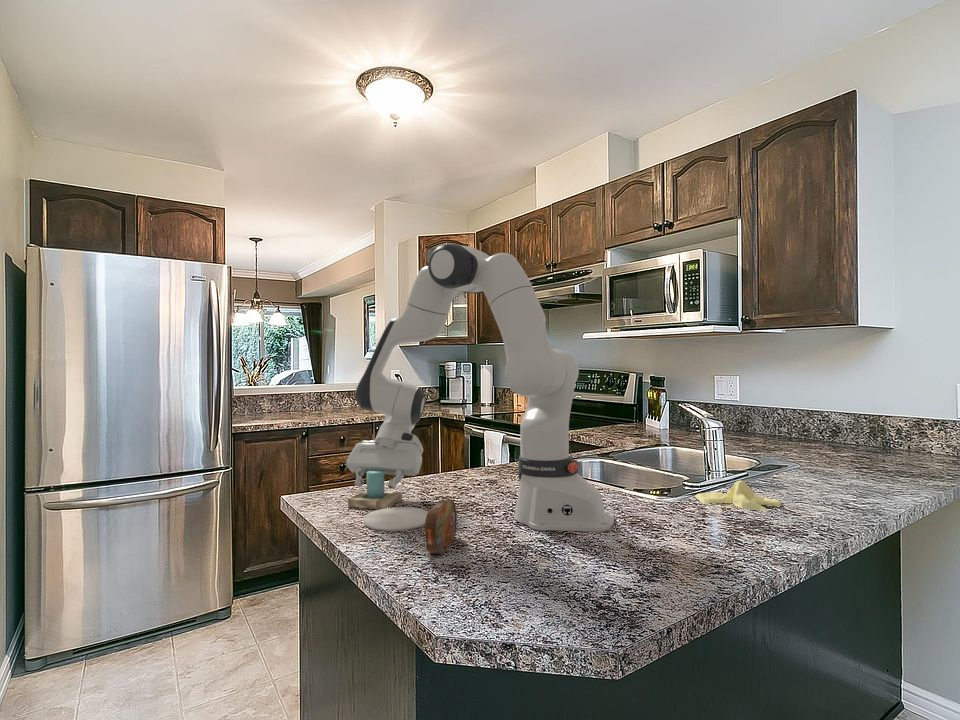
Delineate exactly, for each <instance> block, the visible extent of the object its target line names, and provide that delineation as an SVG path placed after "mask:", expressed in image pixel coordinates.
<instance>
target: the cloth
mask: <svg viewBox="0 0 960 720" xmlns="http://www.w3.org/2000/svg"><path fill="white" fill-rule="evenodd" d="M726 493H727V494H725V493H721V492H703V493H702V492H701V493H697V494H696V495H694V497H695V498H696V499H697V501H699V502H700V504H702V503H703V505H704V504H709V503H733V504H734V505H736V506H738V507H741V508H744V509H752V510H760V511H768V510H769V509H767V508H766V507H765V506H761V505H770V506H781V507H782V505H781V503H782V502H781V501H780V500H779V499H775V498H768V497H762V496H758V495H755V492H754V491H753V489H752V488H751V487H750V486H749V485H748V484H747V483H746V482H745V481H743V480H737V481H736V482H734V484H733V485H732V487H730V488H729V490H728V491H727V492H726ZM724 507H728V508H733V509H734V508H735V507H734V506H731V505H724V506H723V508H724Z"/></svg>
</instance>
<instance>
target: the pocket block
mask: <svg viewBox="0 0 960 720" xmlns="http://www.w3.org/2000/svg"><path fill="white" fill-rule="evenodd" d="M401 499H402V500H403V491H392V490H391V491H390V490H384V497H383V498H381V499H375V498H367V489H366V490H364V491H362V492H360V493H358V494H355V495H353V496H351V497H349V498H347V506H348V507H347V508H356V507H359V508H360V509H367V508H369V510H379V509H385V508H387V507H388V508H390V507H392V506H393V504H394V503H395V504H397V503H399V502H400V501H399V500H401ZM402 500H401V501H402ZM398 501H399V502H398ZM396 502H397V503H396ZM395 504H394V505H395ZM391 505H392V506H391ZM389 506H390V507H389ZM359 508H358V509H359Z"/></svg>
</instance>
